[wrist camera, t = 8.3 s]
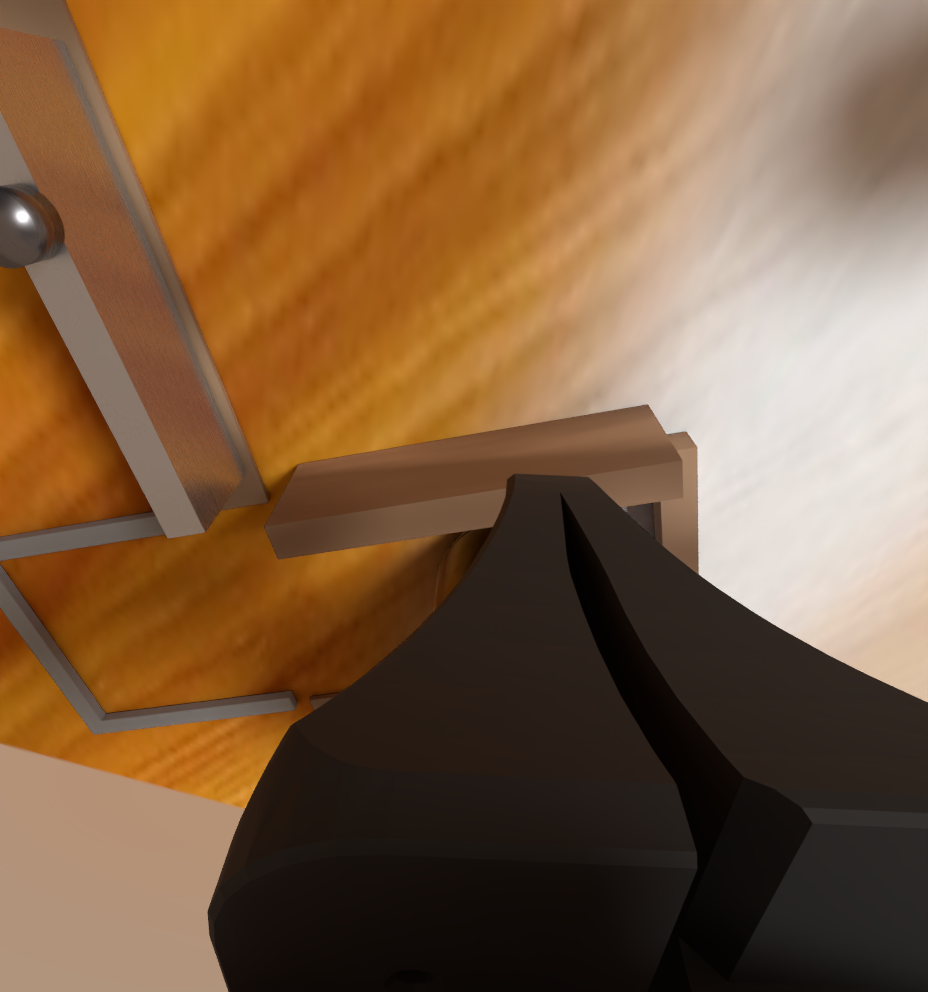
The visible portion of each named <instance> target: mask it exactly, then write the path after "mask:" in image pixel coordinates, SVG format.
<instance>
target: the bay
mask: <svg viewBox="0 0 928 992" xmlns="http://www.w3.org/2000/svg"><path fill="white" fill-rule="evenodd" d="M164 534H165V532H164V530H163V529H162V527H161V525H160V523H159V521H158V519H157V517H156V515H155V513H154V512H148V513H142V514H136V515H130V516H124V517H118V518H112V519H106V520H100V521H94V522H88V523H82V524H76V525H70V526H64V527H58V528H51V529H45V530H39V531H33V532H27V533H21V534H15V535H9V536H3V537H0V561H2V560H8V559H15V558H21V557H27V556H33V555H40V554H46V553H52V552H58V551H65V550H71V549H77V548H83V547H90V546H96V545H102V544H108V543H114V542H121V541H127V540H133V539H139V538H146V537H152V536H158V535H164ZM0 608H1V610H2V611H3V612H4V614H5V615H6V617H7V618H8V619H9V621H10V622H11V623H12V625H13V626H14V627H15V629H16V630H17V631H18V633H19V634H20V635H21V637H22V638H23V640H24V641H25V642H26V644H27V645H28V646H29V648H30V649H31V650H32V652H33V653H34V654H35V656H36V657H37V658H38V660H39V661H40V663H41V664H42V665H43V667H44V668H45V669H46V671H47V672H48V673H49V675H50V676H51V677H52V679H53V680H54V681H55V683H56V684H57V686H58V687H59V688H60V690H61V691H62V692H63V694H64V695H65V696H66V698H67V699H68V700H69V702H70V703H71V704H72V706H73V707H74V709H75V710H76V711H77V713H78V714H79V715H80V717H81V718H82V719H83V721H84V722H85V723H86V725H87V726H88V727H89V729H90V730H91V732H92V733H93V734H102V733H111V732H119V731H127V730H136V729H144V728H152V727H160V726H169V725H177V724H185V723H194V722H202V721H210V720H218V719H227V718H235V717H243V716H252V715H260V714H268V713H276V712H285V711H293V710H295V709H296V706H297V701H296V699H295V697H294V695H293V692H292V691H285V692H277V693H269V694H261V695H253V696H245V697H237V698H229V699H221V700H213V701H205V702H197V703H189V704H181V705H173V706H165V707H157V708H149V709H141V710H133V711H125V712H116V713H108V714H106V713H105V712H104V711H103V709H102V708H101V706H100V705H99V704H98V702H97V701H96V699H95V698H94V696H93V695H92V694H91V692H90V691H89V689H88V688H87V687H86V685H85V684H84V682H83V681H82V679H81V678H80V677H79V675H78V674H77V672H76V671H75V670H74V668H73V667H72V665H71V664H70V662H69V661H68V660H67V658H66V657H65V655H64V654H63V653H62V651H61V650H60V648H59V647H58V646H57V644H56V643H55V641H54V640H53V638H52V637H51V636H50V634H49V633H48V631H47V630H46V629H45V627H44V626H43V624H42V623H41V621H40V620H39V619H38V617H37V616H36V614H35V613H34V612H33V610H32V609H31V607H30V606H29V604H28V603H27V602H26V600H25V599H24V597H23V596H22V595H21V593H20V592H19V590H18V589H17V588H16V586H15V585H14V583H13V582H12V580H11V579H10V578H9V576H8V575H7V573H6V572H5V571H4V569H3V568H2V566H1V565H0Z"/></svg>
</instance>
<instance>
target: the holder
mask: <svg viewBox="0 0 928 992" xmlns="http://www.w3.org/2000/svg"><path fill="white" fill-rule="evenodd" d="M0 28H5V29H9V30H14V31H18V32H23V33H27V34H32V35H36V36H41V37H45V38H50V39H54V40H59V41H63V42H64V43H65V46H66V48H67V51H68V53H69V55H70V58H71V60H72V62H73V65H74V67H75V69H76V72H77V74H78V77H79V79H80V81H81V84H82V86H83V88H84V91H85V93H86V95H87V98H88V100H89V103H90V105H91V107H92V110H93V112H94V114H95V117H96V119H97V121H98V124H99V126H100V129H101V131H102V133H103V136H104V138H105V140H106V143H107V145H108V147H109V150H110V152H111V155H112V157H113V159H114V162H115V164H116V166H117V169H118V171H119V173H120V176H121V178H122V181H123V183H124V185H125V188H126V190H127V192H128V195H129V197H130V199H131V202H132V204H133V207H134V209H135V211H136V214H137V216H138V218H139V221H140V223H141V226H142V228H143V230H144V233H145V235H146V237H147V240H148V242H149V244H150V247H151V249H152V252H153V254H154V256H155V259H156V261H157V263H158V266H159V268H160V270H161V273H162V275H163V278H164V280H165V282H166V285H167V287H168V289H169V292H170V294H171V296H172V299H173V301H174V304H175V306H176V308H177V311H178V313H179V315H180V318H181V320H182V322H183V325H184V327H185V330H186V332H187V334H188V337H189V339H190V341H191V344H192V346H193V348H194V351H195V353H196V356H197V358H198V360H199V363H200V365H201V367H202V370H203V372H204V374H205V377H206V379H207V382H208V384H209V386H210V389H211V391H212V393H213V396H214V398H215V401H216V403H217V405H218V408H219V410H220V412H221V415H222V417H223V419H224V422H225V424H226V427H227V429H228V431H229V434H230V436H231V438H232V441H233V443H234V445H235V448H236V450H237V453H238V455H239V457H240V460H241V462H242V464H243V467H244V469H245V471H246V475H245V476H244V478H243V479H242V480H241V482H240V483H239V485H238V486H237V488H236V489H235V491H234V492H233V493H232V495H231V496H230V498H229V499H228V501H227V502H226V504H225V505H224V506H223V508H222V509H221V510H227V509H233V508H239V507H245V506H251V505H257V504H264V503H269V501H270V498H269V496H268V493H267V491H266V488H265V486H264V483H263V481H262V479H261V476H260V474H259V471H258V469H257V466H256V464H255V462H254V459H253V457H252V454H251V452H250V449H249V447H248V445H247V442H246V440H245V437H244V435H243V432H242V430H241V427H240V425H239V423H238V420H237V418H236V415H235V413H234V410H233V408H232V406H231V403H230V401H229V398H228V396H227V393H226V391H225V389H224V386H223V384H222V381H221V379H220V376H219V374H218V371H217V369H216V367H215V364H214V362H213V359H212V357H211V354H210V352H209V350H208V347H207V345H206V342H205V340H204V337H203V335H202V333H201V330H200V328H199V325H198V323H197V320H196V318H195V316H194V313H193V311H192V308H191V306H190V303H189V301H188V298H187V296H186V294H185V291H184V289H183V286H182V284H181V281H180V279H179V277H178V274H177V272H176V269H175V267H174V264H173V262H172V260H171V257H170V255H169V252H168V250H167V247H166V245H165V243H164V240H163V238H162V235H161V233H160V230H159V228H158V225H157V223H156V221H155V218H154V216H153V213H152V211H151V208H150V206H149V204H148V201H147V199H146V196H145V194H144V191H143V189H142V187H141V184H140V182H139V179H138V177H137V174H136V172H135V170H134V167H133V165H132V162H131V160H130V157H129V155H128V152H127V150H126V148H125V145H124V143H123V140H122V138H121V135H120V133H119V131H118V128H117V126H116V123H115V121H114V118H113V116H112V114H111V111H110V109H109V106H108V104H107V101H106V99H105V96H104V94H103V92H102V89H101V87H100V84H99V82H98V79H97V77H96V75H95V72H94V70H93V67H92V65H91V62H90V60H89V58H88V55H87V53H86V50H85V48H84V45H83V43H82V41H81V38H80V36H79V33H78V31H77V28H76V26H75V23H74V21H73V19H72V16H71V14H70V11H69V9H68V6H67V4H66V2H65V0H0ZM513 474H536V475H559V476H581V477H589V478H590V479H592V480H593V481H594V482H595V483H596V484H597V485H598V486H599V487H600V488H601V489H602V490H603V491H604V492H605V493H606V494H607V495H608V496H609V497H610V498H611V499H613V500H614V501H615V502H616V503H617V504H618V505H619V506H620V507H627V506H634V505H640V504H647V503H653V509H654V528H655V540H657V541H658V542H659V543H660V544H661V545H662V546H664V547H665V548H666V549H667V550H668V551H669V552H671V553H672V554H673V555H674V556H676V557H677V558H678V559H679V560H681V561H682V562H683V563H685V564H686V565H687V566H688V567H690V568H691V569H692V570H693V571H695V572H696V573H697V574H698V475H697V446H696V445H695V443H694V442H693V440H692V439H691V438H690V436H689V435H688V433H687V432H681V433H675V434H668V435H667V434H666V433H665V431H664V430H663V428H662V426H661V425H660V423H659V421H658V420H657V418H656V417H655V415H654V413H653V412H652V410H651V409H650V407H649V405H643V406H637V407H631V408H625V409H619V410H613V411H608V412H602V413H596V414H590V415H584V416H578V417H572V418H566V419H561V420H555V421H549V422H543V423H537V424H531V425H525V426H519V427H514V428H508V429H502V430H496V431H490V432H484V433H478V434H472V435H467V436H461V437H455V438H449V439H443V440H437V441H431V442H426V443H420V444H414V445H408V446H402V447H396V448H390V449H384V450H379V451H373V452H367V453H361V454H355V455H349V456H343V457H337V458H332V459H326V460H320V461H314V462H308V463H302V464H299V465H298V466H297V468H296V470H295V472H294V474H293V475H292V477H291V479H290V481H289V483H288V484H287V486H286V488H285V490H284V492H283V493H282V495H281V497H280V499H279V501H278V502H277V504H276V506H275V508H274V510H273V512H272V513H271V515H270V517H269V519H268V521H267V522H266V524H265V526H264V528H265V530H266V533H267V535H268V537H269V540H270V542H271V544H272V547H273V549H274V551H275V554H276V556H277V558H278V559H284V558H291V557H298V556H304V555H311V554H317V553H324V552H331V551H337V550H344V549H350V548H357V547H364V546H370V545H377V544H383V543H390V542H397V541H403V540H410V539H416V538H423V537H429V536H436V535H443V534H449V533H456V532H462V531H469V530H476V529H482V528H489V527H493V525H494V523H495V521H496V519H497V517H498V515H499V513H500V510H501V508H502V505H503V502H504V499H505V496H506V484H507V479H508V478H509V477H511V476H512V475H513ZM698 575H699V574H698ZM337 694H339V693H336V694H327V695H319V696H311V697H310V699H309V701H310V703H311V705H312V707H313V709H314V710H316V709H317V708H319V707H320V706H321V705H323V704H324V703H326V702H327V701H329V700H330V699H332V698H333V697H335V696H336V695H337Z"/></svg>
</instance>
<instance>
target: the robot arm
mask: <svg viewBox="0 0 928 992" xmlns="http://www.w3.org/2000/svg"><path fill="white" fill-rule="evenodd" d="M208 921H209V934H210V938H211V941H212V944H213V947H214V950H215V953H216V956H217V959H218V962H219V965H220V968H221V971H222V973H223V977H224V979H225V983H226V986H227V988H228V991H229V992H928V702H925V701H923V700H921V699H919V698H917V697H914V696H912V695H910V694H908V693H906V692H904V691H901V690H899V689H897V688H895V687H893V686H891V685H888V684H886V683H884V682H882V681H880V680H878V679H875V678H873V677H871V676H869V675H867V674H865V673H863V672H861V671H859V670H857V669H855V668H853V667H851V666H849V665H847V664H845V663H843V662H841V661H839V660H837V659H835V658H833V657H831V656H829V655H827V654H825V653H823V652H822V651H820V650H818V649H816V648H814V647H813V646H811V645H809V644H807V643H805V642H803V641H802V640H800V639H798V638H796V637H794V636H793V635H791V634H789V633H787V632H785V631H784V630H782V629H780V628H778V627H777V626H775V625H773V624H772V623H770V622H768V621H767V620H765V619H763V618H762V617H760V616H758V615H757V614H755V613H754V612H752V611H751V610H749V609H748V608H746V607H745V606H743V605H742V604H740V603H739V602H737V601H736V600H734V599H733V598H731V597H730V596H728V595H727V594H725V593H724V592H722V591H721V590H719V589H718V588H716V587H715V586H713V585H712V584H711V583H709V582H708V581H707V580H705V579H704V578H702V577H701V576H700V575H698V574H697V573H696V572H695V571H693V570H692V569H691V568H690V567H688V566H687V565H686V564H685V563H683V562H682V561H681V560H679V559H678V558H677V557H676V556H674V555H673V554H672V553H671V552H669V551H668V550H667V549H666V548H665V547H664V546H662V545H661V544H660V543H659V542H658V541H657V540H655V539H654V538H653V537H652V536H651V535H650V534H649V533H648V532H646V531H645V530H644V529H643V528H642V527H641V526H640V525H639V524H638V523H637V522H635V521H634V520H633V519H632V518H631V517H630V516H629V515H628V514H627V513H626V512H625V511H624V510H623V509H622V508H621V507H620V506H619V505H618V504H617V503H616V502H615V501H614V500H613V499H611V498H610V497H609V496H608V495H607V494H606V493H605V492H604V491H603V490H602V489H601V488H600V487H599V486H598V485H597V484H596V483H595V482H594V481H593V480H592V479H590V478H589V477H581V476H559V475H536V474H513V475H512V476H511V477H509V478H508V479H507V484H506V496H505V499H504V502H503V505H502V508H501V510H500V513H499V515H498V517H497V519H496V521H495V523H494V525H493V528H492V530H491V532H490V534H489V536H488V537H487V539H486V541H485V543H484V544H483V546H482V547H481V549H480V551H479V552H478V554H477V556H476V557H475V559H474V560H473V562H472V564H471V565H470V567H469V568H468V570H467V571H466V572H465V574H464V575H463V577H462V578H461V579H460V581H459V582H458V583H457V585H456V586H455V587H454V588H453V590H452V591H451V592H450V593H449V595H448V596H447V597H446V598H445V599H444V601H443V602H442V603H441V604H440V605H439V606H438V607H437V608H436V609H435V610H434V612H433V613H432V614H431V615H430V616H429V617H428V618H427V619H426V620H425V621H424V622H423V623H422V625H421V626H420V627H419V628H418V629H417V630H415V631H414V632H413V633H412V634H411V635H410V636H409V637H408V638H407V639H406V640H405V641H404V642H403V643H402V644H400V645H399V646H398V647H397V648H396V649H395V650H393V651H392V652H391V653H390V654H389V655H388V656H386V657H385V658H384V659H383V660H382V661H380V662H379V663H378V664H377V665H376V666H375V667H373V668H372V669H371V670H370V671H369V672H368V673H366V674H365V675H364V676H362V677H361V678H360V679H359V680H357V681H356V682H355V683H353V684H352V685H351V686H349V687H348V688H346V689H345V690H343V691H342V692H340V693H339V694H337V695H336V696H335V697H333V698H332V699H330V700H329V701H327V702H326V703H324V704H323V705H321V706H320V707H319V708H317V709H316V710H314V711H313V712H311V713H310V714H308V715H307V716H305V717H304V718H302V719H300V720H299V721H297V722H295V723H294V724H292V725H291V726H290V728H289V729H288V731H287V732H286V734H285V736H284V737H283V739H282V741H281V742H280V744H279V746H278V747H277V749H276V751H275V753H274V754H273V756H272V758H271V760H270V761H269V763H268V765H267V767H266V769H265V770H264V772H263V774H262V776H261V778H260V780H259V782H258V784H257V786H256V788H255V790H254V792H253V794H252V796H251V798H250V800H249V802H248V804H247V806H246V808H245V811H244V813H243V815H242V817H241V819H240V821H239V824H238V826H237V829H236V831H235V834H234V837H233V840H232V842H231V845H230V848H229V851H228V854H227V857H226V860H225V863H224V865H223V868H222V871H221V874H220V877H219V880H218V883H217V886H216V889H215V892H214V894H213V897H212V900H211V903H210V906H209V909H208Z"/></svg>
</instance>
